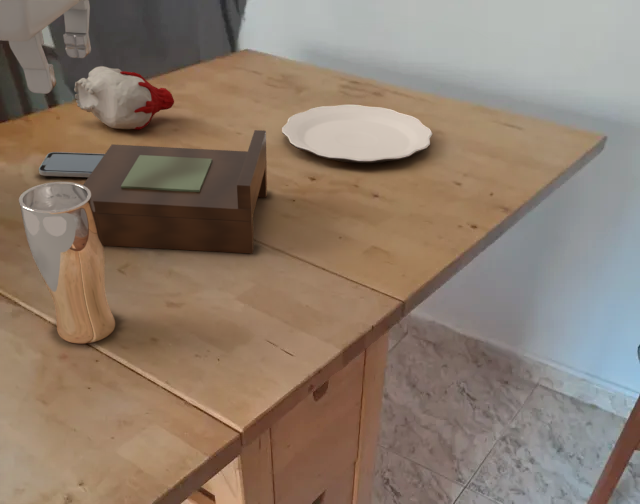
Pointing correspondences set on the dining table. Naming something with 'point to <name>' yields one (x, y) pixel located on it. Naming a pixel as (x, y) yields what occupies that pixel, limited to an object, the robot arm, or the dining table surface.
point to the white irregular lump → (121, 98)
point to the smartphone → (69, 164)
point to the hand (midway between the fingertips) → (62, 72)
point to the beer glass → (69, 257)
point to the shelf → (179, 196)
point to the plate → (357, 133)
